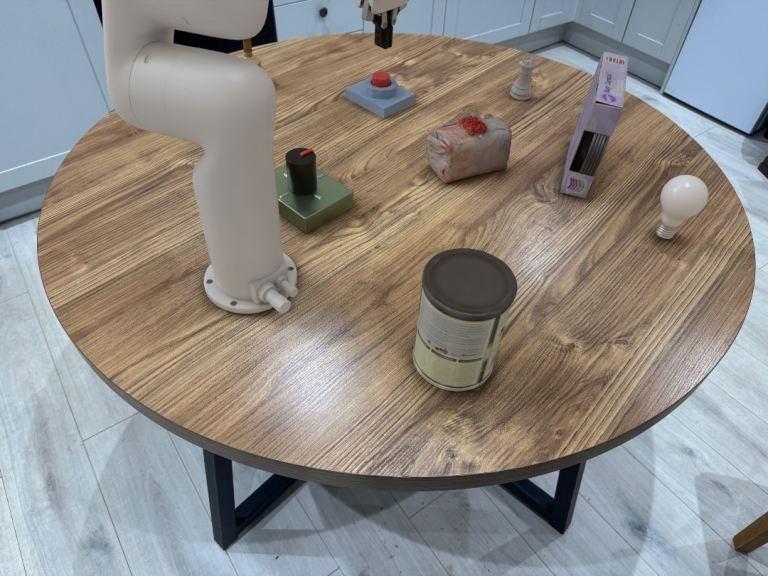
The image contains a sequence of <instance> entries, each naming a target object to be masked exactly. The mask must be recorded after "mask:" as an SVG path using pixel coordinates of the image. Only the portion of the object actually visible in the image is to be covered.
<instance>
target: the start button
mask: <svg viewBox="0 0 768 576" xmlns="http://www.w3.org/2000/svg"><path fill="white" fill-rule="evenodd" d="M371 76H372V85H373V86H375V87H380V88H382V87H388V86H389V85H390V77H391V75H390V73H387V72H386V71H376V72H373V73H372V75H371Z"/></svg>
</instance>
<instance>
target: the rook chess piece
mask: <svg viewBox="0 0 768 576" xmlns="http://www.w3.org/2000/svg"><path fill="white" fill-rule="evenodd" d="M519 65H520V68H519V69H518V72H519V73H518V76H517V79H516V81H515V82H514V84H513V85H512V86H511V88H510V92H509V95H510V97H511V98H512V99H513V100H516V101H520V102H523V101H528V100H529V99H530V98H531V97H532V95H531V94H532V92H533V91H532V85H531V77H532V73H534V71H533V69H534V68H535V67H536V58H534V57H530V56H523V57H522V58H521V60H520V61H519Z"/></svg>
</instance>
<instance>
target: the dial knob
mask: <svg viewBox="0 0 768 576" xmlns="http://www.w3.org/2000/svg"><path fill="white" fill-rule="evenodd" d="M284 157H285V159H284V160H285V164H286V170H287V181H288V188H289V190H290V191H292V192H293V193H296V194H308V193H311V192H313V191H314V190H315V189H316V188H317V169H316V168H317V155H316V153H315V152H314V149H313V148H311V147H310V148H306V147H295V148H292V149H290V150H288V151H286V153H285V156H284Z"/></svg>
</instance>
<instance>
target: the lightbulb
mask: <svg viewBox="0 0 768 576" xmlns="http://www.w3.org/2000/svg"><path fill="white" fill-rule="evenodd" d="M659 199H660V200H659V201H660V206H661V209H662V210H661V215H660V221H659V223H658V226H657V227H656V229H655V233H656V235H657V236H658V237H659V238H661V239H666V240H671V239H673V238H674V236H675V234H676V232H677V230H678V228H679V227H680V226H681V225H682V224H684V223H685V221H687V219H690V218H693V217H695V216H697V215H698V214H699V213H701V212H702V211H703V209H704V208H705V207H706V205H707V204H708V200H709V189H708V186H707V185H706V183H705V182H704V180H702V179H701V178H699V177H697V176H695V175H692V174H681V175H677V176H674V177H672V178H671V179H669V180H668V181H667V182H666V183H665V184H664V185H663V187H662V188H661V192H660V195H659Z"/></svg>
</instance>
